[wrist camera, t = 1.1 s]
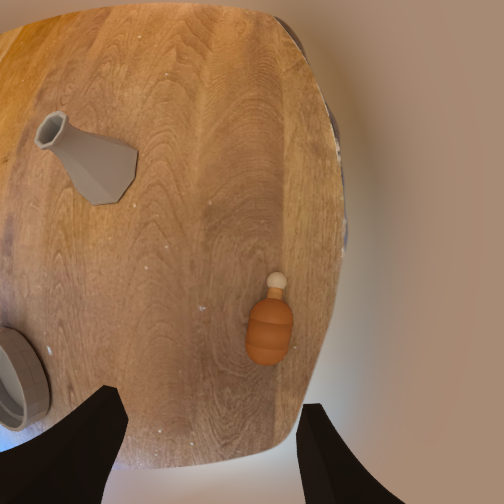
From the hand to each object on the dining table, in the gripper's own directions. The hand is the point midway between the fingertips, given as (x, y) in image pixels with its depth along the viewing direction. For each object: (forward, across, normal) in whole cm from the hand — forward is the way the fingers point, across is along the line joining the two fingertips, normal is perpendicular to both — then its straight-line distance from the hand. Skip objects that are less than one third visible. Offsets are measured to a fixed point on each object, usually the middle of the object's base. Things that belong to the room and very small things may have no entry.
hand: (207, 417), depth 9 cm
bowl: (+10, +27, +14) cm, 31 cm away
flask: (+19, +13, -8) cm, 25 cm away
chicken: (+14, -3, +4) cm, 14 cm away
